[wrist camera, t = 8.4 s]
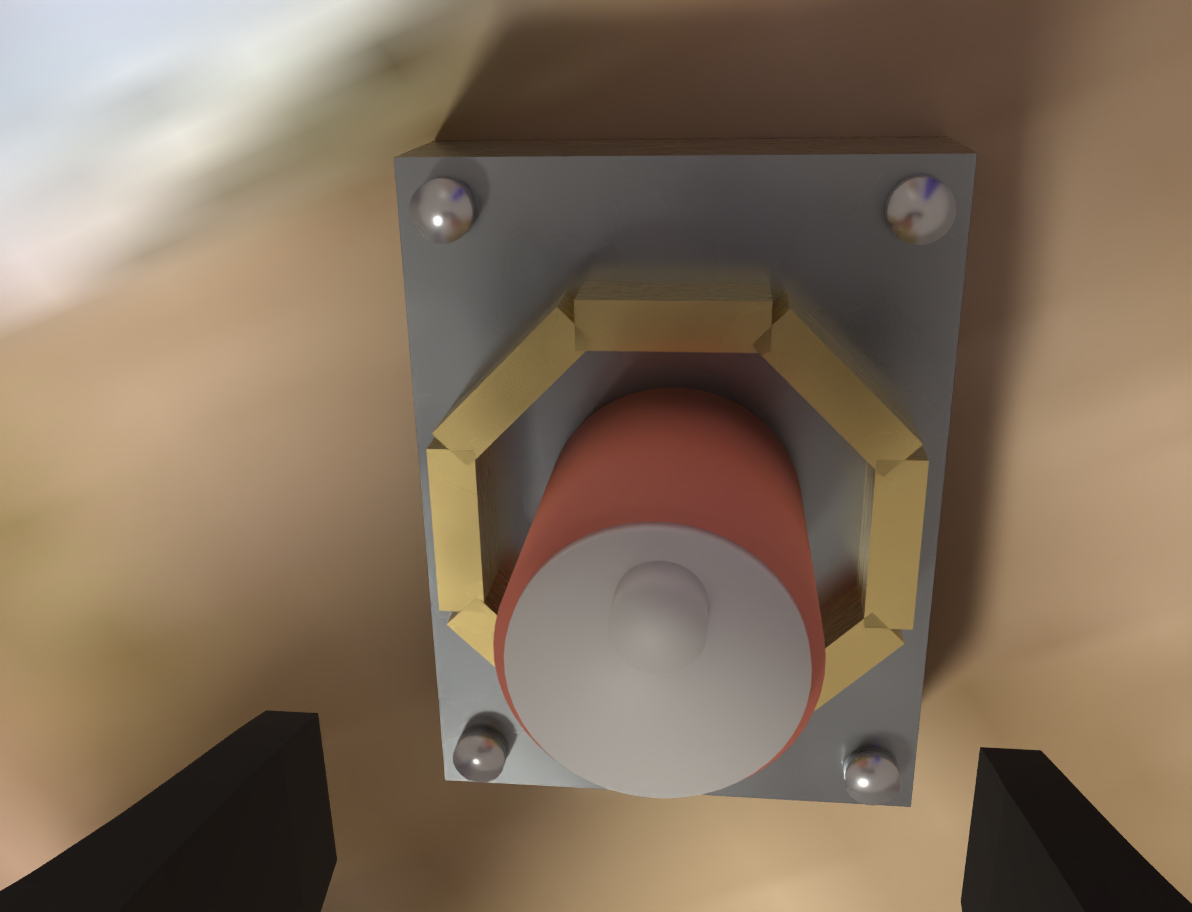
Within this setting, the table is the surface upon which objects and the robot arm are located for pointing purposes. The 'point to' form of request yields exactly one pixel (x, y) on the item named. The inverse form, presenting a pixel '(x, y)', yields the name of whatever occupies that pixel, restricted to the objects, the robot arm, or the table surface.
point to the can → (665, 600)
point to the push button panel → (695, 361)
